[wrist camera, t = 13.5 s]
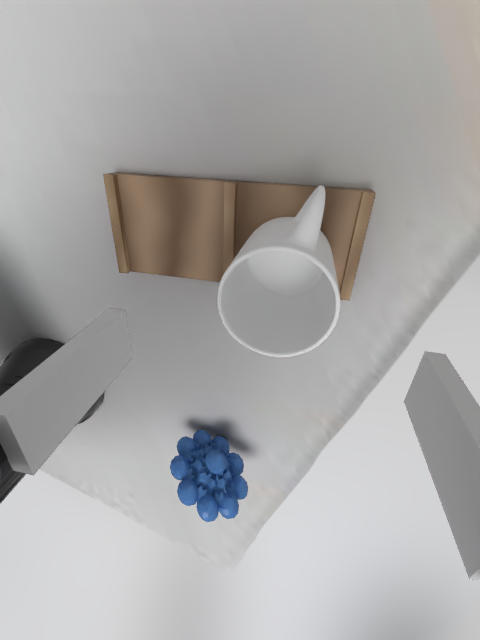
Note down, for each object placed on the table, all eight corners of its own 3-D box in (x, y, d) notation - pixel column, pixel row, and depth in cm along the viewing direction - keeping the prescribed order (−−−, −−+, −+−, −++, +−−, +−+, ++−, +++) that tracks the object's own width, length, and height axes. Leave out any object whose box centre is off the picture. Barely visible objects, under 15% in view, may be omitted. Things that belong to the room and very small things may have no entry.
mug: (368, 197, 26) (397, 225, 17) (308, 310, 33) (306, 373, 24) (276, 161, 27) (256, 168, 17) (233, 280, 33) (203, 331, 24)
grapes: (266, 436, 46) (252, 520, 36) (249, 460, 49) (232, 542, 39) (194, 404, 46) (160, 479, 35) (182, 431, 49) (148, 506, 39)
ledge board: (129, 265, 36) (119, 272, 34) (115, 172, 31) (103, 174, 29) (347, 291, 32) (349, 300, 31) (371, 189, 27) (375, 192, 26)
